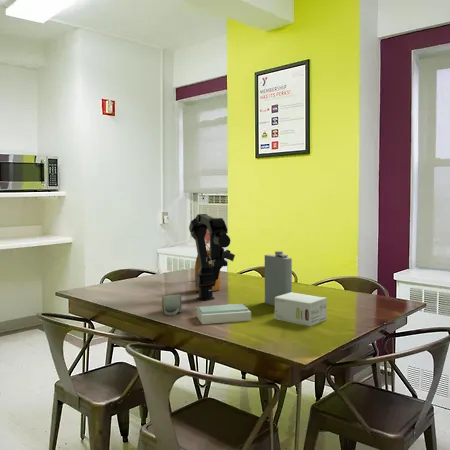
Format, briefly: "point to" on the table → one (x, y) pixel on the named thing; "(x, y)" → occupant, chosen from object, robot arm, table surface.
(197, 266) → the coffee package
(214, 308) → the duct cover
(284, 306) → the supplement box
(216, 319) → the panel
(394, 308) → the table surface
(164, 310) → the ceramic mug
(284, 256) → the flask
